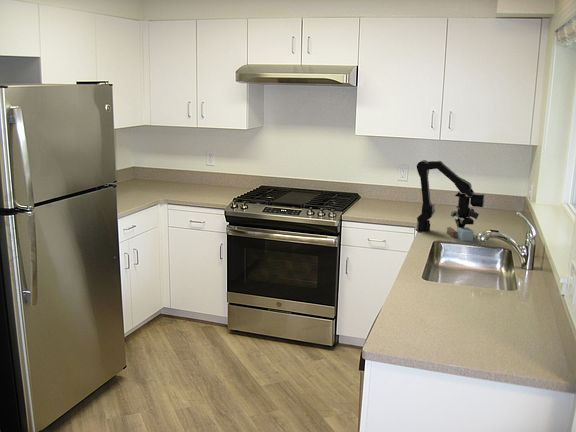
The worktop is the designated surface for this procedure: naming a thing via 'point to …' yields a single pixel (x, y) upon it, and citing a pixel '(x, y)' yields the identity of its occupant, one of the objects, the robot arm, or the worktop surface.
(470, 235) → the block
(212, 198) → the worktop surface
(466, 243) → the pad
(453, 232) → the chute
